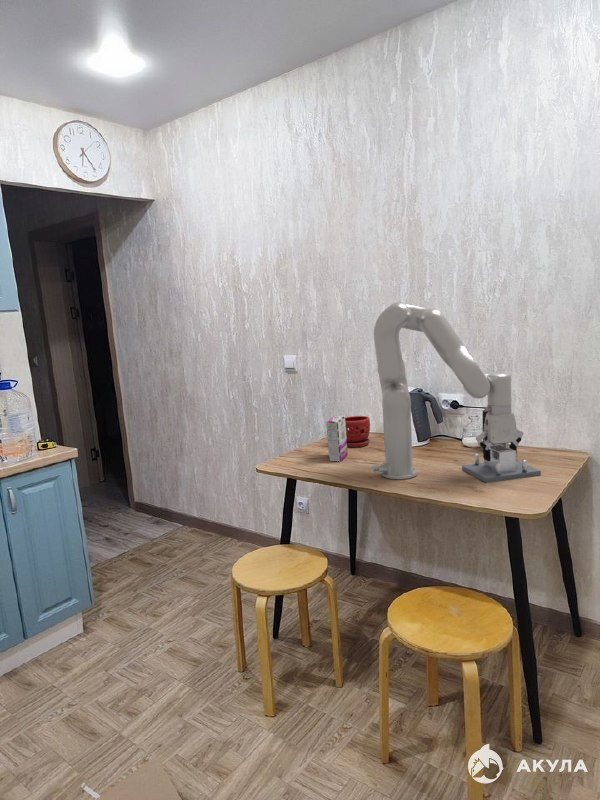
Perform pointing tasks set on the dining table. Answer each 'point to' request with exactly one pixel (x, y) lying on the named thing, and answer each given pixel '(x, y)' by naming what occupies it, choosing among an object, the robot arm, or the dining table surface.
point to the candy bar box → (337, 438)
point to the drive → (501, 458)
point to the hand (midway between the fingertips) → (500, 458)
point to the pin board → (490, 475)
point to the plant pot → (357, 431)
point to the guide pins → (498, 465)
